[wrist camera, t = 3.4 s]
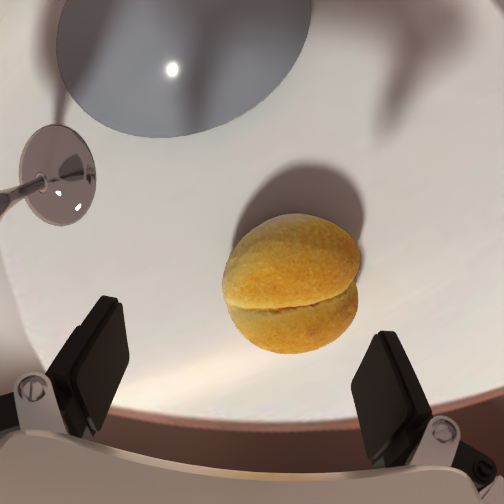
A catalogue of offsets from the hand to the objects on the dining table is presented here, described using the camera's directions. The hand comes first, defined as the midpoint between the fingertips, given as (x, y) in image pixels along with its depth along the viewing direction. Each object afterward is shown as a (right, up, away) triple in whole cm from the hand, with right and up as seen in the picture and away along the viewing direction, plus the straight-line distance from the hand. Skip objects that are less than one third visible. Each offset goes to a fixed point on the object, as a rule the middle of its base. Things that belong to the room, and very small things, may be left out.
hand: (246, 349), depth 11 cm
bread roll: (0, +4, +9) cm, 10 cm away
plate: (-4, +16, +3) cm, 17 cm away
